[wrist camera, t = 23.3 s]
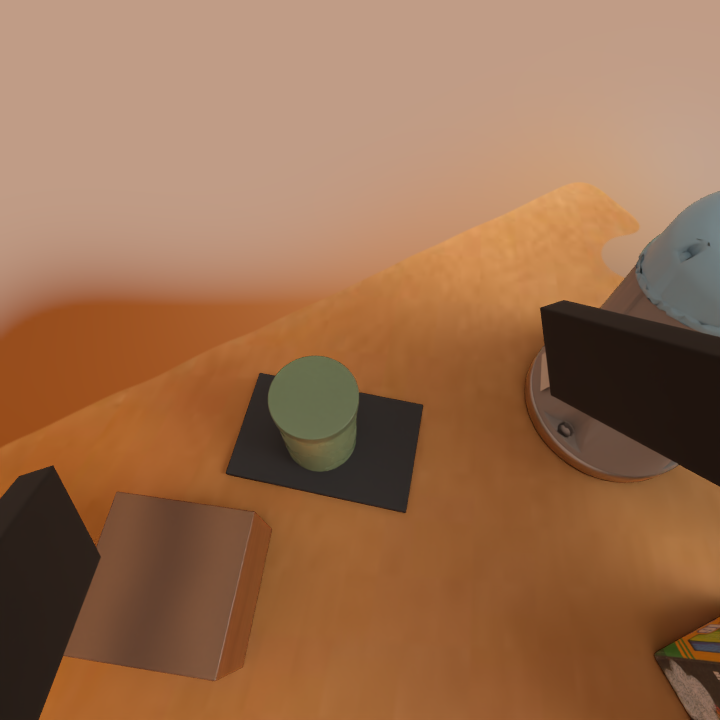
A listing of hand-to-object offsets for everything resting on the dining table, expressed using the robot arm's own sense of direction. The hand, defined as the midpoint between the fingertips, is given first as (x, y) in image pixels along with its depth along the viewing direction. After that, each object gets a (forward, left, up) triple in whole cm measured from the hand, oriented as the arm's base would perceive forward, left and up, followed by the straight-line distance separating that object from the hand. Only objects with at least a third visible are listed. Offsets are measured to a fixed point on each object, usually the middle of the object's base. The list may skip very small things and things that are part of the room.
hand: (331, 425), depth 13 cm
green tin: (+4, -9, -30) cm, 32 cm away
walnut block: (+11, +5, -31) cm, 33 cm away
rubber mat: (+4, -9, -31) cm, 32 cm away
